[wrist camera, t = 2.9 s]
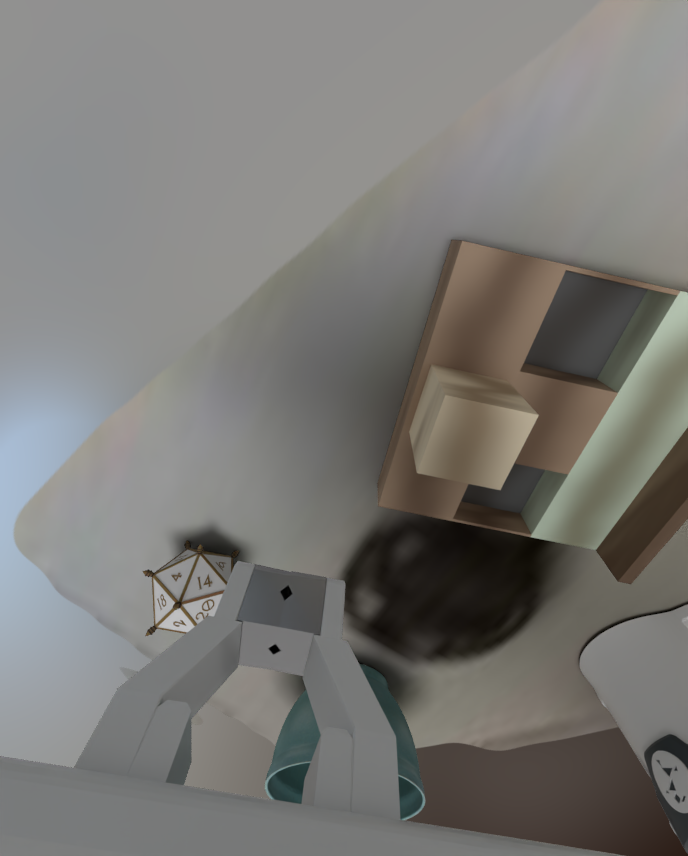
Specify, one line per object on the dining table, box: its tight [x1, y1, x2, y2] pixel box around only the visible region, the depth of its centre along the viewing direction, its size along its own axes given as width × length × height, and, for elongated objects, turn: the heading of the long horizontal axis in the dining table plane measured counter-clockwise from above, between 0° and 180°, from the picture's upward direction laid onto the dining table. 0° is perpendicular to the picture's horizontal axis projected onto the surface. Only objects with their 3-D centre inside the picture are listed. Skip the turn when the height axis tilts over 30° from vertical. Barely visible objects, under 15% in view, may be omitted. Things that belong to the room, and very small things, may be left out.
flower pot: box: [265, 664, 425, 820], centre depth 41 cm, size 16×16×11 cm
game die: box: [143, 541, 239, 636], centre depth 34 cm, size 9×8×10 cm
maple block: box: [409, 364, 539, 490], centre depth 22 cm, size 5×5×5 cm
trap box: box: [378, 240, 688, 584], centre depth 25 cm, size 19×19×6 cm
